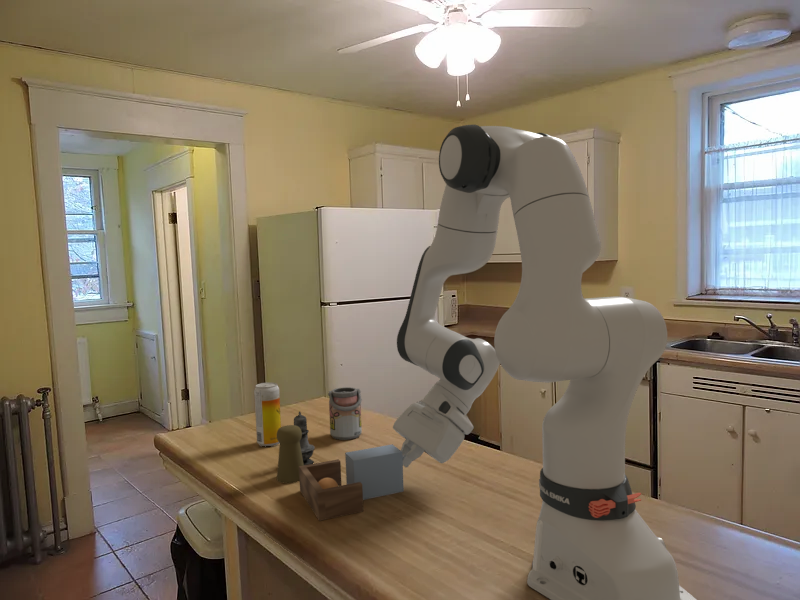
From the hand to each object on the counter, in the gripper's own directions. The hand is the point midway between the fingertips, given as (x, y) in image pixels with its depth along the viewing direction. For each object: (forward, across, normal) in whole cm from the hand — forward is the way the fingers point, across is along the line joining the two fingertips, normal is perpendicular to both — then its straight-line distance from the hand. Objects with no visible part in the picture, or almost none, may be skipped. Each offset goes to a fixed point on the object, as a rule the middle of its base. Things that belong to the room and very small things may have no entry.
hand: (400, 463), depth 113 cm
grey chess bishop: (+14, -22, -7) cm, 27 cm away
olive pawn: (+17, -15, -10) cm, 25 cm away
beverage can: (+3, -36, +4) cm, 36 cm away
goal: (+13, 0, -7) cm, 15 cm away
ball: (+12, 0, -11) cm, 17 cm away
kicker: (+7, 0, -1) cm, 7 cm away
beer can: (+17, -40, -10) cm, 44 cm away
